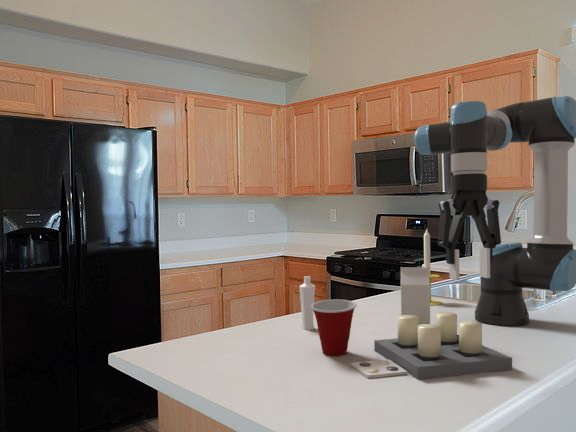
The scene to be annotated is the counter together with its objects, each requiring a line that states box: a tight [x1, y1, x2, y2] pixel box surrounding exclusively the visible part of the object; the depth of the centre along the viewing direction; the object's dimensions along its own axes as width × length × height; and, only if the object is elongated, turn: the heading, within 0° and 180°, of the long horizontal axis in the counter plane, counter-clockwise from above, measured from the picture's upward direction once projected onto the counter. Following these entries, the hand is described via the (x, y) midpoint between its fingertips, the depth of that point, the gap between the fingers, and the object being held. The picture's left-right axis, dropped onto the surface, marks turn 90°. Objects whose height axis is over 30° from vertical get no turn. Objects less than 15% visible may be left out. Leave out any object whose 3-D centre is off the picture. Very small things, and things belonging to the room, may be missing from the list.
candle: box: [423, 228, 443, 307], centre depth 186 cm, size 10×10×27 cm
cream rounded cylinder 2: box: [458, 320, 483, 353], centre depth 115 cm, size 5×5×6 cm
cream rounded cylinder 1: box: [435, 311, 458, 342], centre depth 125 cm, size 5×5×6 cm
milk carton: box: [400, 266, 431, 325], centre depth 136 cm, size 7×7×19 cm
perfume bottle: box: [298, 275, 316, 331], centre depth 151 cm, size 5×4×15 cm
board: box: [373, 334, 513, 380], centre depth 119 cm, size 22×22×2 cm
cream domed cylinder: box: [418, 323, 441, 357], centre depth 113 cm, size 5×5×6 cm
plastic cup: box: [311, 298, 357, 357], centre depth 126 cm, size 11×11×12 cm
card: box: [351, 359, 408, 379], centre depth 112 cm, size 9×9×1 cm
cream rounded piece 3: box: [397, 314, 419, 345], centre depth 123 cm, size 5×5×6 cm
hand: (469, 277), depth 115 cm, fingers open, 7 cm apart
